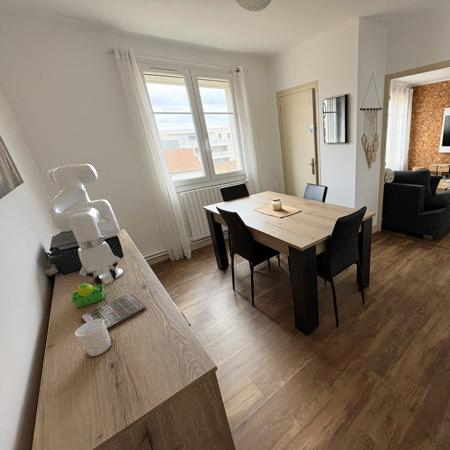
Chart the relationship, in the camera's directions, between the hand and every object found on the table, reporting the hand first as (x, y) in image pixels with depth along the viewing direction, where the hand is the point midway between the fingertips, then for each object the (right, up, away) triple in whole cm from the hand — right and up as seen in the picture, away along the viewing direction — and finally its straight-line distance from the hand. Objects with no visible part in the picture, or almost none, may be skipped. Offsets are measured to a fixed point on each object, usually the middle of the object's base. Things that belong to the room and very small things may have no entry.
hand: (107, 280), depth 103 cm
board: (+2, -15, +2) cm, 15 cm away
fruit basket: (-16, -13, +11) cm, 23 cm away
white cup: (+10, -21, -15) cm, 28 cm away
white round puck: (0, 0, 0) cm, 0 cm away
